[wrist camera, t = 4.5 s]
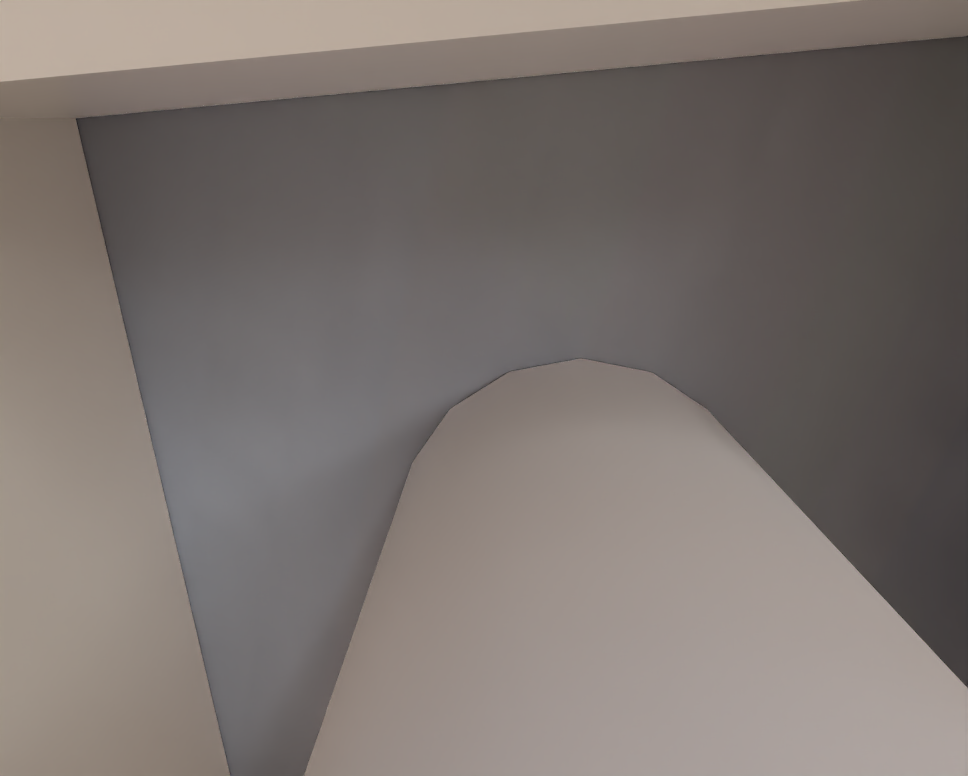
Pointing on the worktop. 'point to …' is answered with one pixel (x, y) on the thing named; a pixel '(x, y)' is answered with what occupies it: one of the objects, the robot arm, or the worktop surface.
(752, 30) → the open beige storage bin
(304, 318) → the worktop surface
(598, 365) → the white cup
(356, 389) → the worktop surface
